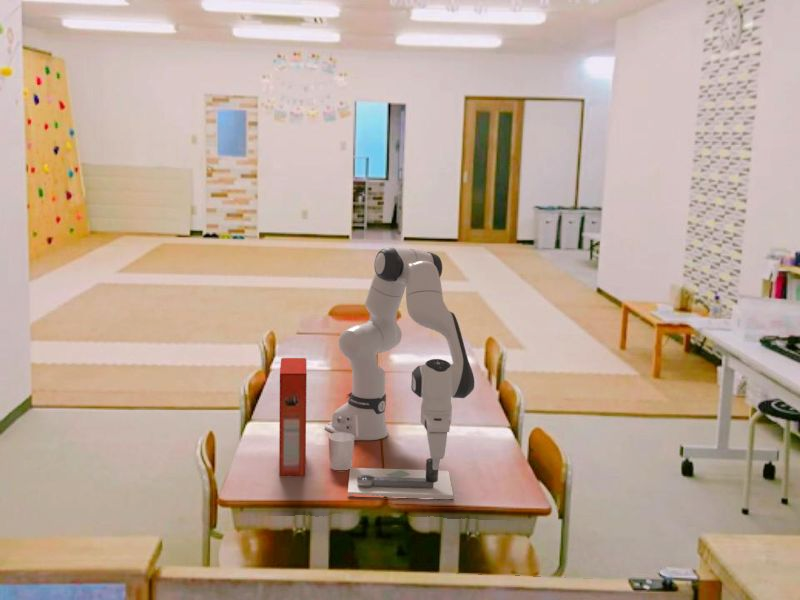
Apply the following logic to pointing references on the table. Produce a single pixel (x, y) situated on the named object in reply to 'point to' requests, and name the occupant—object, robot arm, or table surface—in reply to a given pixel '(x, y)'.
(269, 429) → the table surface
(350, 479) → the lever board
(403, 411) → the table surface
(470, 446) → the table surface
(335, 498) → the table surface
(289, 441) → the file binder
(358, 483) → the lever
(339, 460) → the white cup
